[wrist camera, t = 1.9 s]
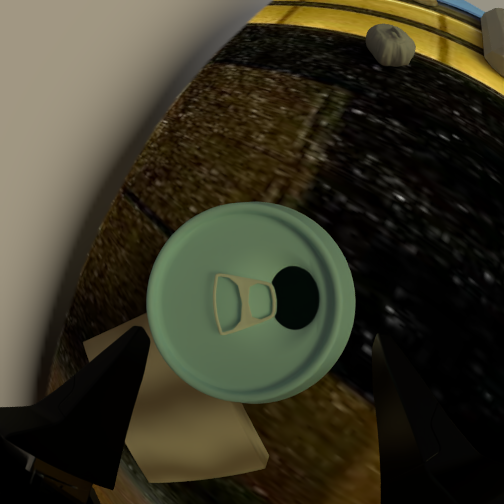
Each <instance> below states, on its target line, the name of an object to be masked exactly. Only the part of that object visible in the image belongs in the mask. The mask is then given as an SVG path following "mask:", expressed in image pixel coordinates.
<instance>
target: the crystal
mask: <svg viewBox="0 0 504 504" xmlns="http://www.w3.org/2000/svg"><path fill="white" fill-rule="evenodd" d="M481 26H482V35H483V46H484V57H485V59H486V60H487V61H488V63H489V64H490V65H491V66H492V67H493V68H494V69H495V70H496V71H497V72H498V73H499V74H500V75H502V76H503V77H504V9H502V8H495V9H492V10H490V11H488V12H486V13H484V14H483V16H482V18H481ZM495 49H496V50H495ZM491 50H492V51H491Z"/></svg>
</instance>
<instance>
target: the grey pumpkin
mask: <svg viewBox="0 0 504 504" xmlns="http://www.w3.org/2000/svg"><path fill="white" fill-rule="evenodd" d="M366 45H367V48H368V49H369V51H370V52H371V53H372V54H373V56H374V58H375V59H376V60H377V61H378V62H379V63H380V64H381V65H384V66H394V67H398V66H403V65H408V64H409V62H410V60H411V59H412V57H413V55H414V52H415V49H416V46H415V43H414V42H413V40H412V39H411V38H410V37H409V36H408V35H407V34H406V33H405V32H404V31H403V30H401V29H400V28H398V27H395V26H393V25H389V24H378V25H375V26H373V27H371V28H370V29H369V30H368V32H367V35H366Z"/></svg>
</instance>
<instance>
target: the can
mask: <svg viewBox="0 0 504 504" xmlns="http://www.w3.org/2000/svg"><path fill="white" fill-rule="evenodd" d="M146 307H147V318H148V323H149V327H150V331H151V334H152V337H153V340H154V342H155V345H156V347H157V349H158V351H159V352H160V354H161V356H162V357H163V359H164V360H165V362H166V363H167V364H168V366H169V367H170V368H171V369H172V370H173V371H174V372H175V374H176V375H178V376H179V377H180V378H181V379H182V380H183V381H185V382H186V383H187V384H189V385H190V386H191V387H193V388H195V389H196V390H198V391H200V392H202V393H204V394H206V395H209V396H211V397H214V398H217V399H221V400H225V401H231V402H240V403H251V404H259V403H269V402H275V401H279V400H283V399H286V398H289V397H291V396H294V395H296V394H298V393H300V392H302V391H304V390H306V389H307V388H309V387H310V386H312V385H313V384H315V383H316V382H317V381H318V380H320V379H321V378H322V377H323V376H324V375H325V374H326V373H327V372H328V371H329V370H330V369H331V368H332V366H333V365H334V364H335V363H336V361H337V360H338V358H339V357H340V355H341V354H342V352H343V350H344V348H345V346H346V344H347V341H348V339H349V336H350V333H351V330H352V326H353V321H354V315H355V290H354V284H353V279H352V276H351V272H350V269H349V267H348V264H347V261H346V259H345V257H344V256H343V254H342V252H341V250H340V249H339V247H338V246H337V244H336V243H335V241H334V240H333V239H332V238H331V236H330V235H329V234H328V233H327V232H326V231H325V230H324V229H323V228H322V227H321V226H319V225H318V224H317V223H316V222H314V221H313V220H311V219H310V218H308V217H307V216H305V215H303V214H301V213H299V212H297V211H295V210H293V209H290V208H288V207H285V206H281V205H278V204H272V203H266V202H244V203H231V204H226V205H221V206H217V207H214V208H211V209H209V210H206V211H204V212H202V213H200V214H198V215H196V216H195V217H193V218H192V219H190V220H189V221H187V222H186V223H185V224H183V225H182V226H181V227H180V228H179V229H178V230H177V231H176V232H175V233H174V234H173V235H172V236H171V237H170V238H169V239H168V241H167V242H166V243H165V245H164V246H163V248H162V249H161V251H160V253H159V255H158V256H157V258H156V261H155V263H154V265H153V268H152V271H151V274H150V278H149V282H148V288H147V298H146Z"/></svg>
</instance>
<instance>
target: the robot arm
mask: <svg viewBox="0 0 504 504" xmlns="http://www.w3.org/2000/svg"><path fill="white" fill-rule="evenodd" d="M149 348H150V338H149V336H148V334H147V333H146V331H145V329H144V328H143V327H142V326H132V327H131V328H130V329H129V330H127V331H126V332H125V333H124V334H123V335H121V336H120V337H119V338H118V339H117V340H115V341H114V342H113V343H112V344H111V345H109V346H108V347H107V348H106V349H105V350H103V351H102V352H101V353H100V354H99V355H97V356H96V357H95V358H94V359H93V360H91V361H90V362H89V363H88V364H87V365H86V366H84V367H83V368H82V369H81V370H80V371H78V372H77V373H76V375H74V376H72V377H71V378H70V379H69V380H68V381H66V382H65V383H64V384H63V385H62V386H60V387H59V388H58V389H56V390H55V391H53V392H52V393H51V394H49V395H48V396H46V397H45V398H44V399H42V400H41V401H39V402H38V403H36V404H34V405H31V406H24V407H0V504H101V503H100V501H99V499H98V497H97V495H96V493H95V490H94V488H92V485H93V484H96V485H98V486H101V487H104V488H107V489H110V490H113V489H114V486H115V481H116V477H117V472H118V468H119V464H120V460H121V455H122V451H123V447H124V443H125V439H126V435H127V431H128V428H129V424H130V420H131V417H132V413H133V410H134V406H135V403H136V399H137V396H138V393H139V389H140V386H141V383H142V380H143V376H144V372H145V368H146V363H147V358H148V353H149ZM372 364H373V391H374V400H375V408H376V417H377V427H378V439H379V453H380V474H381V504H504V464H502V463H499V462H497V461H494V460H492V459H489V458H487V457H485V456H483V455H481V454H480V453H479V452H477V451H476V450H475V449H474V447H473V446H472V445H471V444H470V443H469V441H468V440H467V439H466V438H465V437H464V435H463V434H462V433H461V432H460V431H459V429H458V428H457V427H456V426H455V425H454V423H453V422H452V421H451V420H450V418H449V417H448V415H447V414H446V412H445V411H444V410H443V408H442V407H441V405H440V404H439V403H437V402H438V401H437V399H436V398H435V396H434V395H433V394H432V392H431V391H430V389H429V388H428V386H427V385H426V384H425V382H424V381H423V379H422V378H421V377H420V375H419V374H418V372H417V371H416V370H415V368H414V367H413V365H412V364H411V363H410V361H409V360H408V359H407V357H406V356H405V355H404V353H403V352H402V351H401V349H400V348H399V347H398V345H397V344H396V343H395V341H394V340H393V339H392V337H391V336H390V335H389V334H388V333H378V334H377V335H376V338H375V341H374V344H373V347H372Z"/></svg>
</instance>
